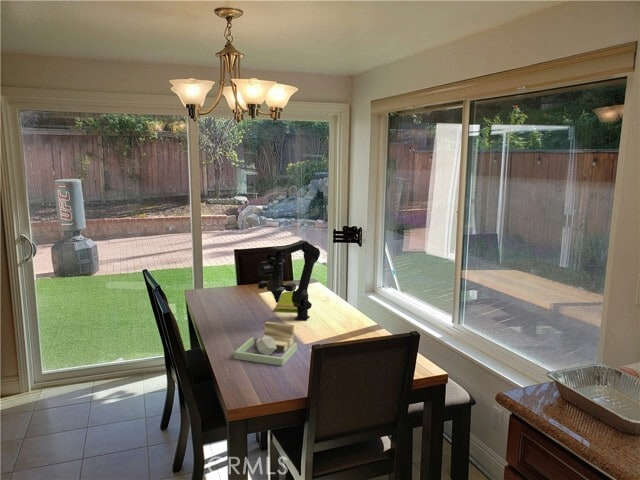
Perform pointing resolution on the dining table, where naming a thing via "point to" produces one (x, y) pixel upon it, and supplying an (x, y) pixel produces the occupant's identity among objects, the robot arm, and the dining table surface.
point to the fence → (243, 355)
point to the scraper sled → (279, 335)
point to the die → (266, 345)
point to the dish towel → (286, 303)
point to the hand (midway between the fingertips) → (277, 302)
